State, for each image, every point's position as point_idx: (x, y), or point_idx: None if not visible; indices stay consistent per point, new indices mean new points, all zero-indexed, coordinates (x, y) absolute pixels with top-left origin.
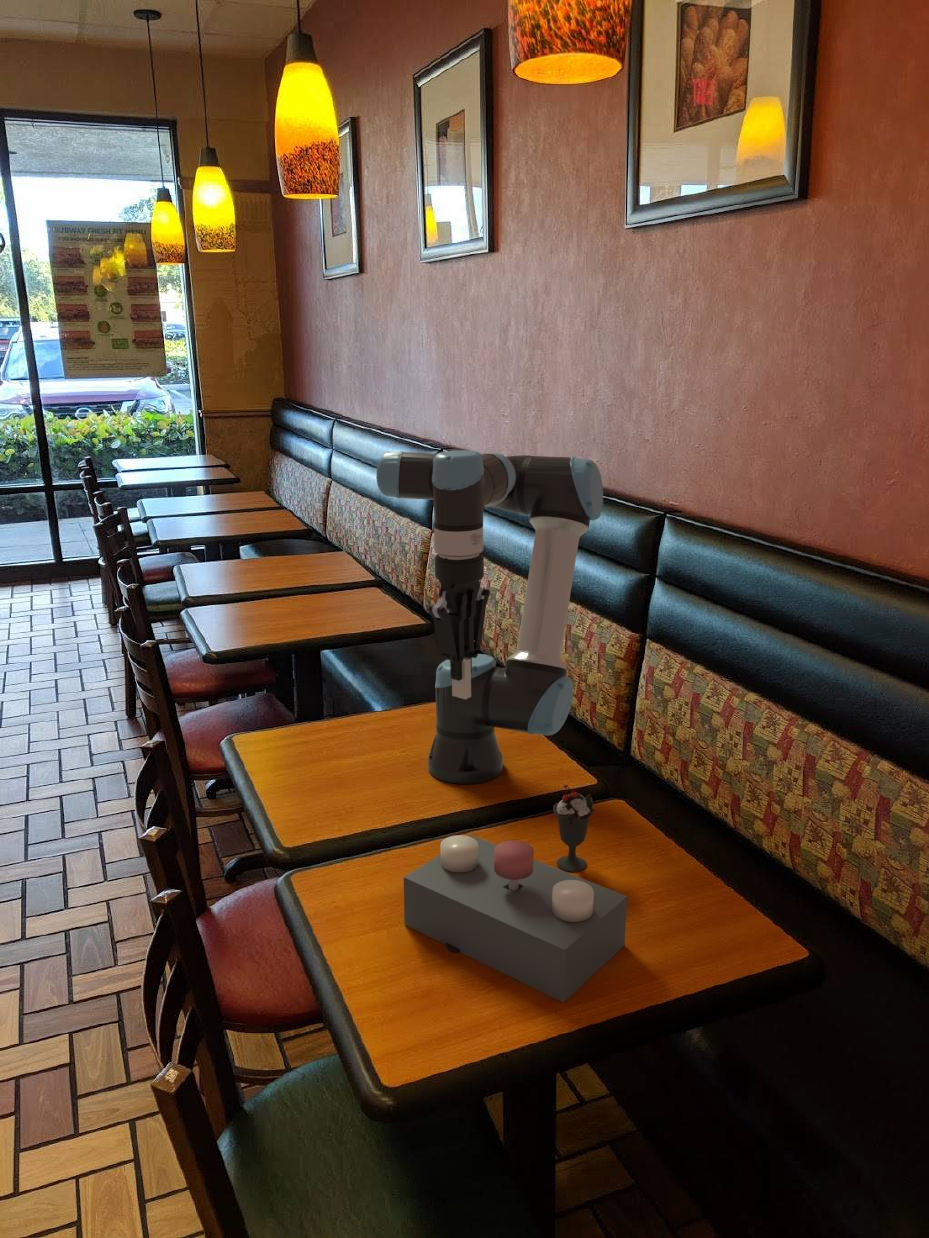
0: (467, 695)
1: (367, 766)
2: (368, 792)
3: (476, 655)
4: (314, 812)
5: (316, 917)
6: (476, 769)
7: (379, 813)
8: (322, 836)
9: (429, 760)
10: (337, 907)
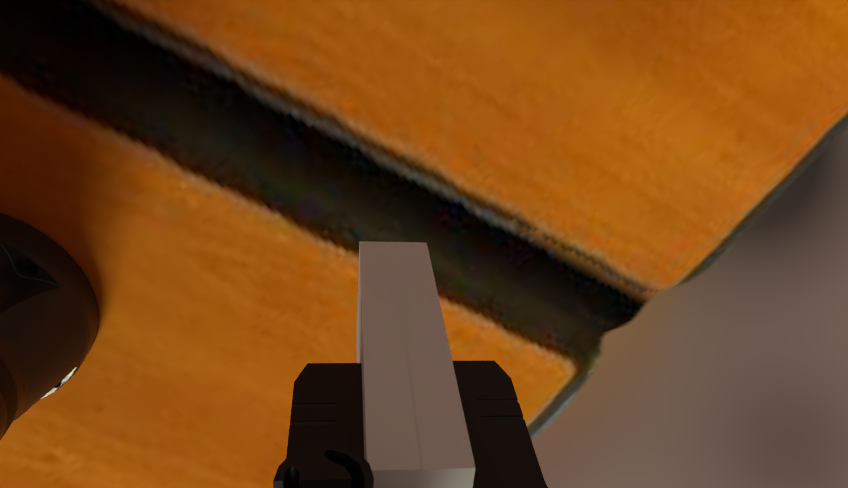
0: (404, 253)
1: (177, 467)
2: (276, 393)
3: (305, 464)
4: None
5: (792, 146)
6: (6, 252)
7: (341, 317)
8: (501, 343)
9: (70, 376)
10: (741, 135)
